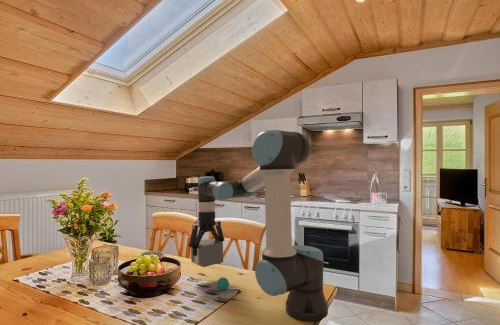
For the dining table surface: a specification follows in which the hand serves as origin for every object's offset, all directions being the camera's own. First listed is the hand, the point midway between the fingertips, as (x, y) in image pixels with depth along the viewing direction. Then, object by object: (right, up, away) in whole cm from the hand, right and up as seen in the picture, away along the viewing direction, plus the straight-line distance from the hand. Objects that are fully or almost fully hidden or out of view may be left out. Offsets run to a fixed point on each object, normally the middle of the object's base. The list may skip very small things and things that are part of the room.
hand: (207, 260), depth 140 cm
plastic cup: (-25, -10, +1) cm, 27 cm away
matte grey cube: (0, -1, 0) cm, 1 cm away
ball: (+8, -7, -9) cm, 14 cm away
